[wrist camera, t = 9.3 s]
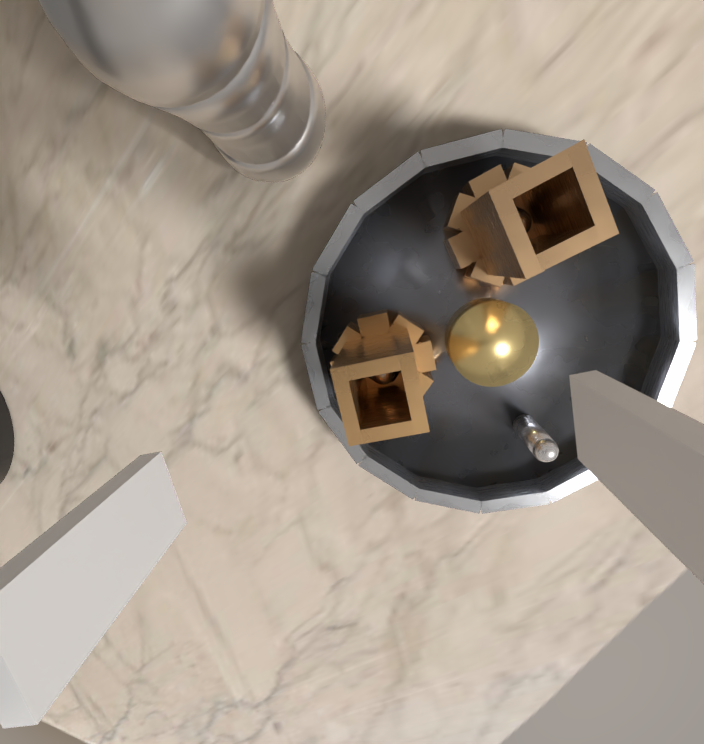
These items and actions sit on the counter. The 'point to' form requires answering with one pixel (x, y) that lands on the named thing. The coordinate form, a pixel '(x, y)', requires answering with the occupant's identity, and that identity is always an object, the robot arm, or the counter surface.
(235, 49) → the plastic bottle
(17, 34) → the counter surface
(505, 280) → the tan square tube
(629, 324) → the bowl
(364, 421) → the hollow wooden square post
